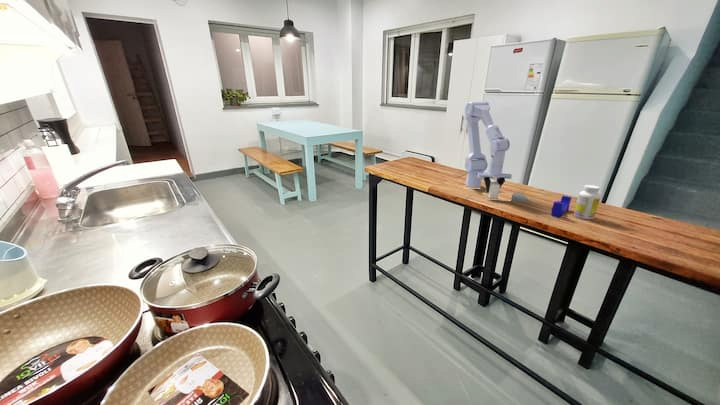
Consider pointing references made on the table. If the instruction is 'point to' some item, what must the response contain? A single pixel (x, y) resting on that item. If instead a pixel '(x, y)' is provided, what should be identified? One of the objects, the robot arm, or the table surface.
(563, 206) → the blue l-shaped block
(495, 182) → the card box
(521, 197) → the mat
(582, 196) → the supplement bottle
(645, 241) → the table surface
